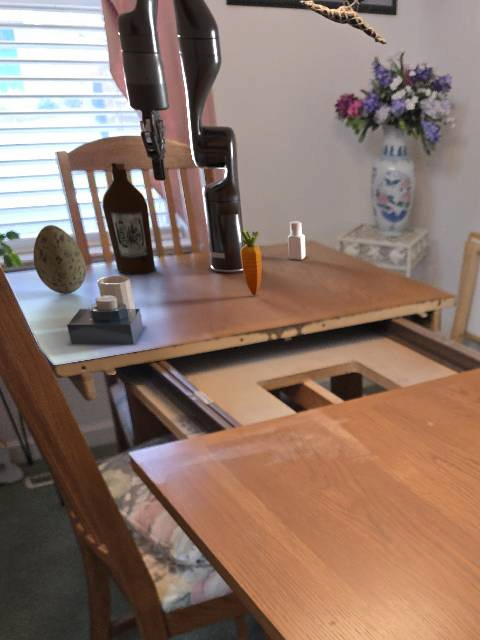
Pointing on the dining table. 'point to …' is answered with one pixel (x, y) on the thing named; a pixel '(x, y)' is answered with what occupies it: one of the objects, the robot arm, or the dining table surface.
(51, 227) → the decorative egg
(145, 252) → the olive oil
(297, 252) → the pepper shaker
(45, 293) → the dining table surface
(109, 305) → the pump
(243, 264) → the carrot
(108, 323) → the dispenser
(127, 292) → the cup
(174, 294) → the dining table surface
